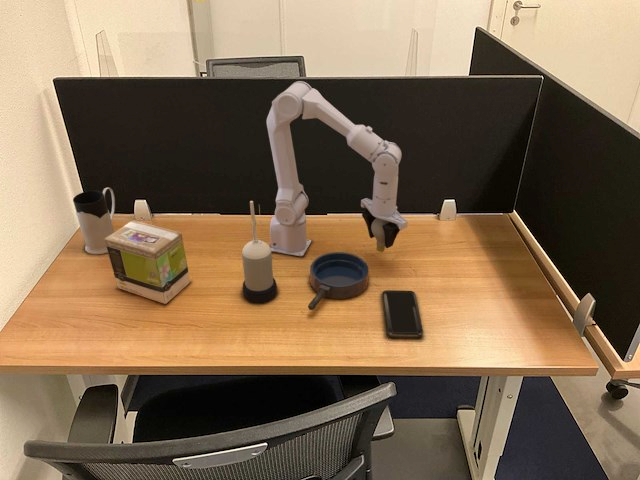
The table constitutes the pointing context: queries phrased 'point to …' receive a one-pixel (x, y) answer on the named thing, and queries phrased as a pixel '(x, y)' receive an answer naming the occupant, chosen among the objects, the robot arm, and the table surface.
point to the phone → (401, 314)
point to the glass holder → (94, 219)
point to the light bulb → (379, 233)
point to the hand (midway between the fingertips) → (381, 241)
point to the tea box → (148, 260)
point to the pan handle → (319, 296)
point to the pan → (339, 274)
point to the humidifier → (258, 268)
